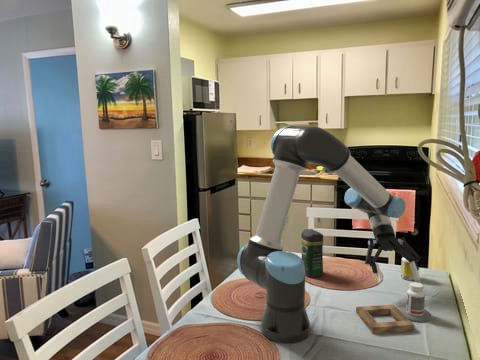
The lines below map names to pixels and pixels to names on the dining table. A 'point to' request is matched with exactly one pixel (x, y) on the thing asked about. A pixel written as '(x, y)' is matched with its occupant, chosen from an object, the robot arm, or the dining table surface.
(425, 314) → the coaster
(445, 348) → the dining table surface
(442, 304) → the dining table surface
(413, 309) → the pill bottle
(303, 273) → the robot arm
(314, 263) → the coffee jar
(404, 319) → the pocket
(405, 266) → the supplement bottle
